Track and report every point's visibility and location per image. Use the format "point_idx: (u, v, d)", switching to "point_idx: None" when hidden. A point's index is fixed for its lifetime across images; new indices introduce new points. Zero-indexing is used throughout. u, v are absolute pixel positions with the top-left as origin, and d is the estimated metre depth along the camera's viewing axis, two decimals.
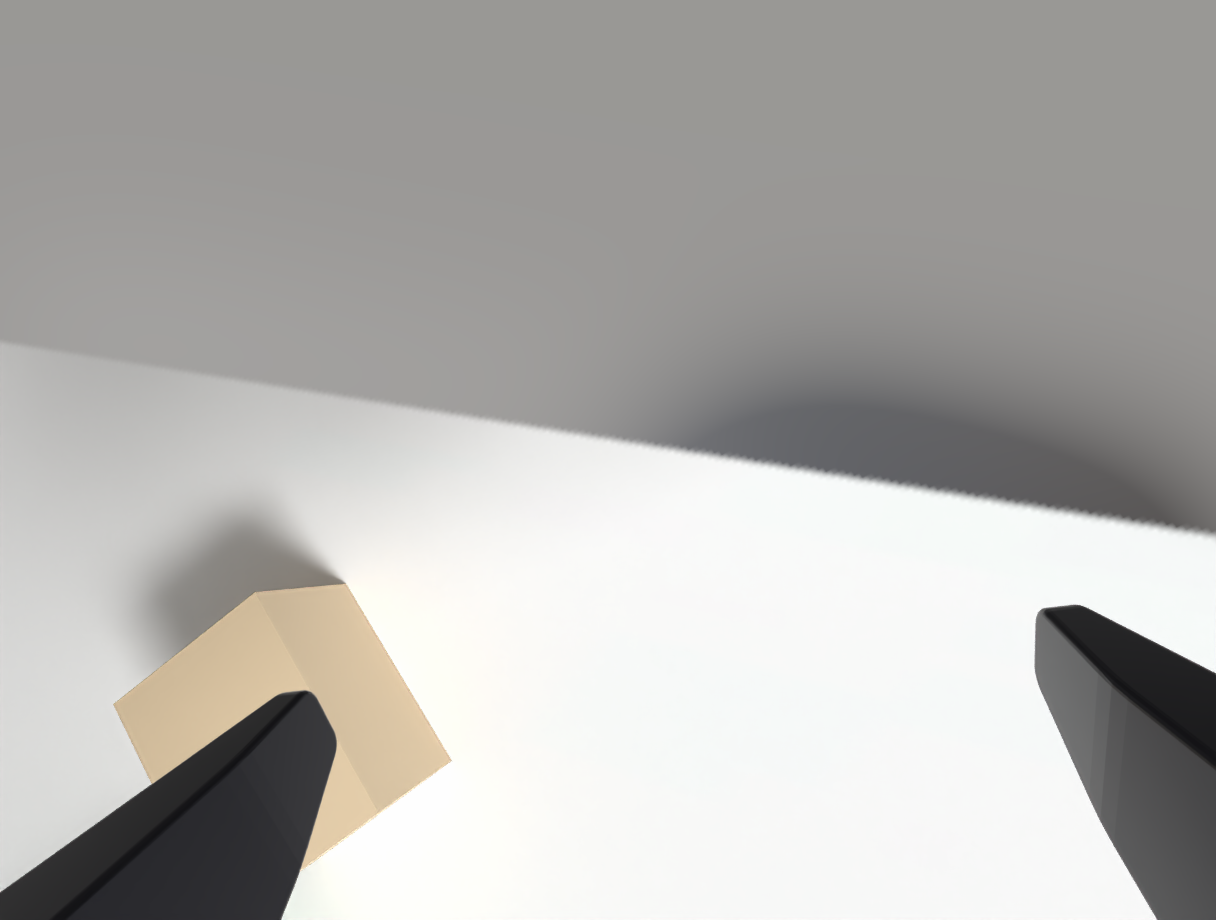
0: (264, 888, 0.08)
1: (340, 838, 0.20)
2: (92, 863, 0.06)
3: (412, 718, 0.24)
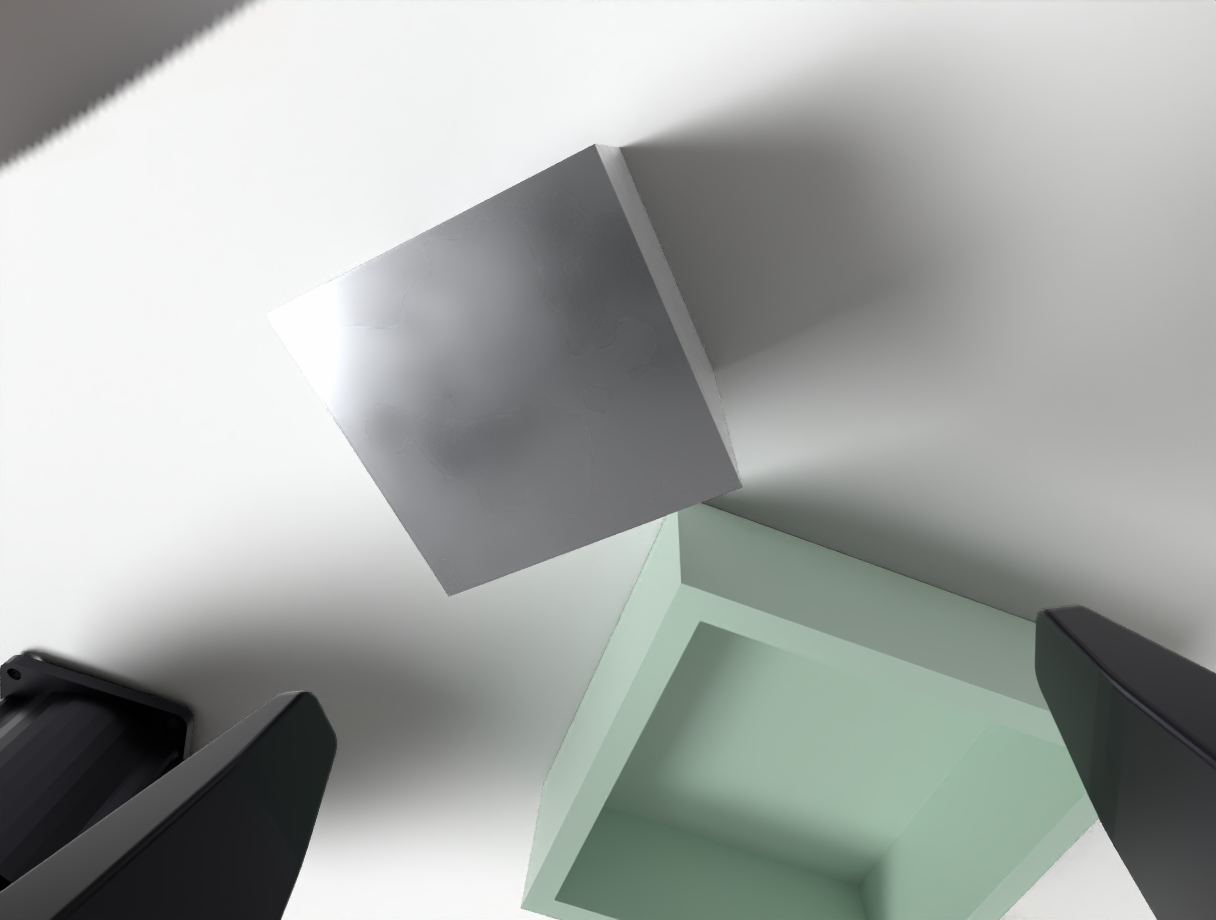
0: (264, 888, 0.08)
1: None
2: (92, 863, 0.06)
3: None
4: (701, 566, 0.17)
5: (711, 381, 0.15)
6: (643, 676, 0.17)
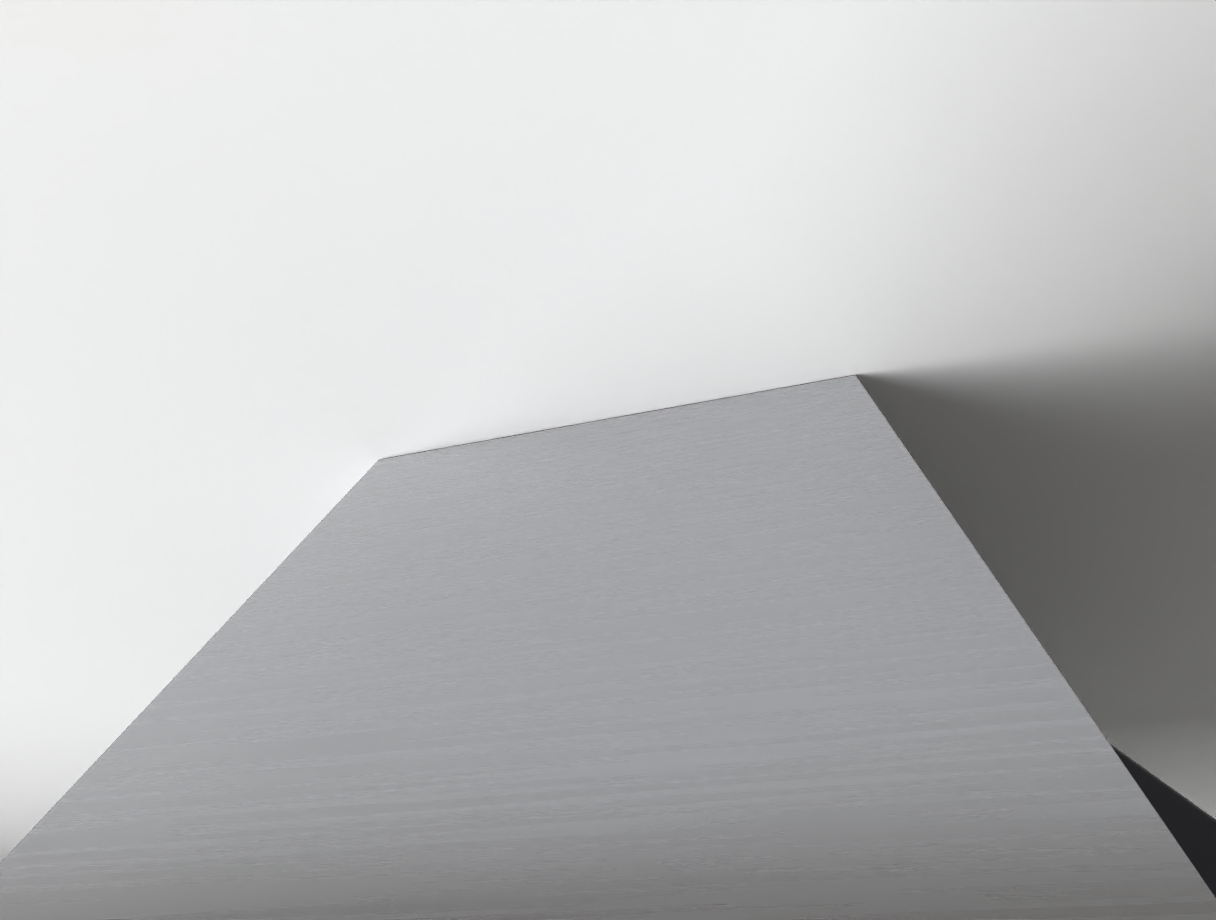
0: None
1: None
2: None
3: None
4: None
5: None
6: None
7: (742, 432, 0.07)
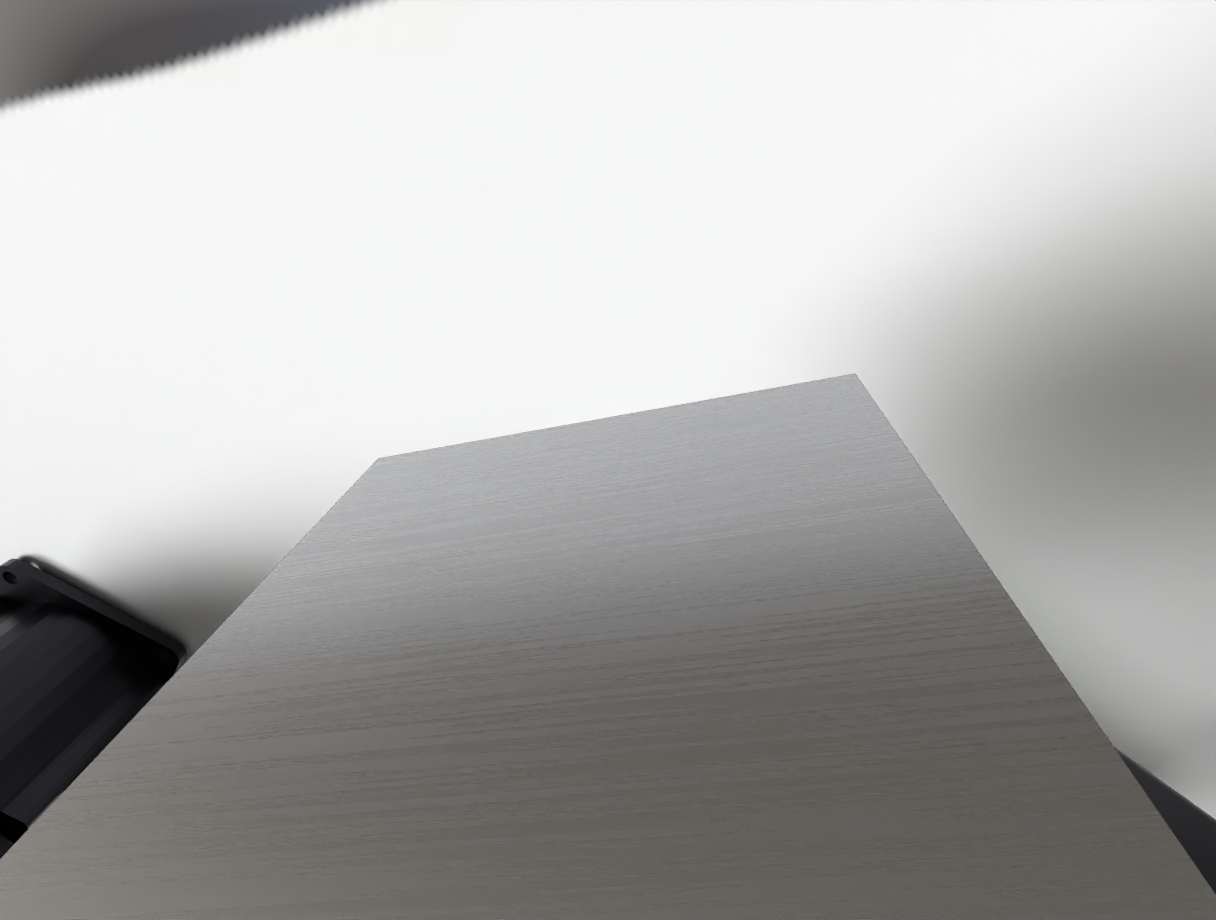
0: None
1: None
2: None
3: None
4: None
5: None
6: None
7: (742, 430, 0.07)
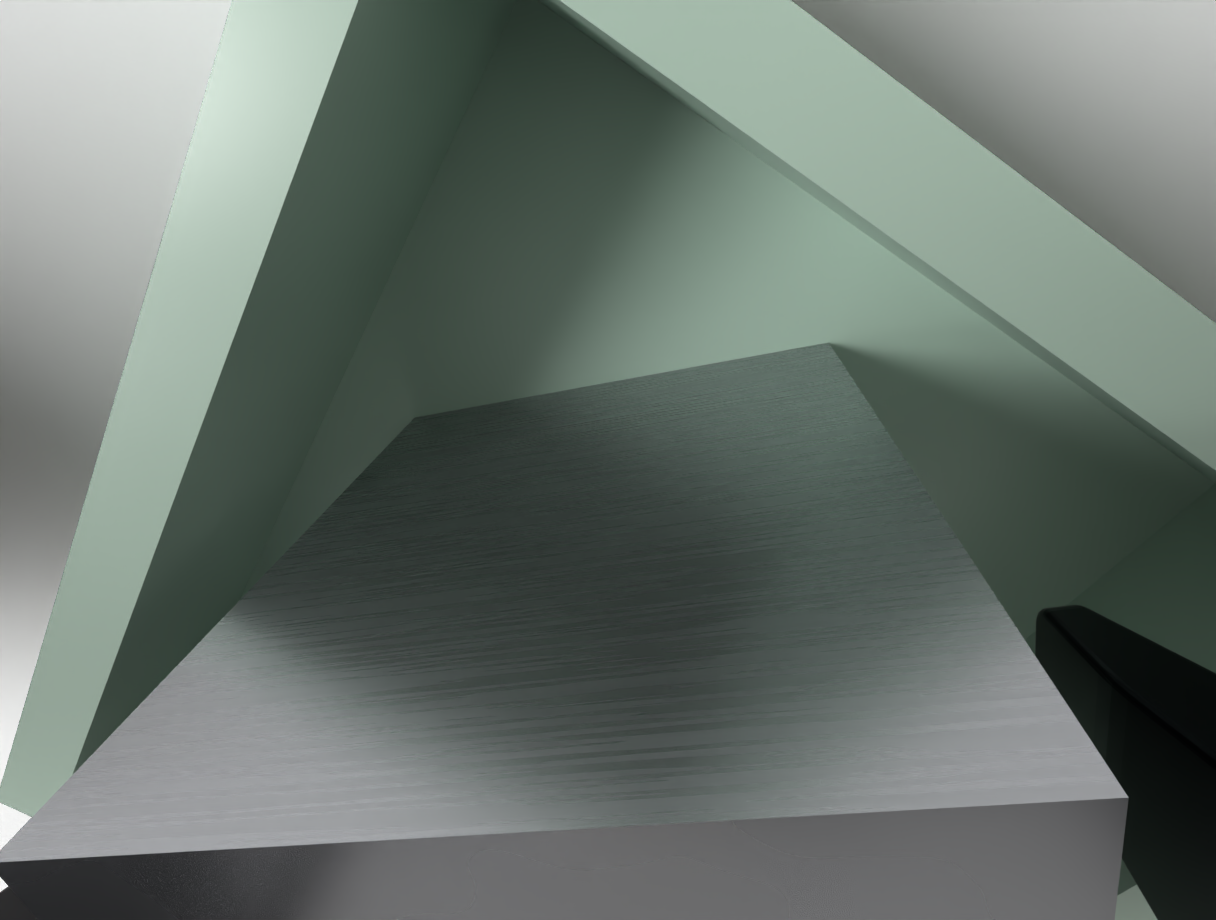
0: None
1: None
2: None
3: None
4: None
5: None
6: (224, 130, 0.05)
7: (730, 386, 0.09)
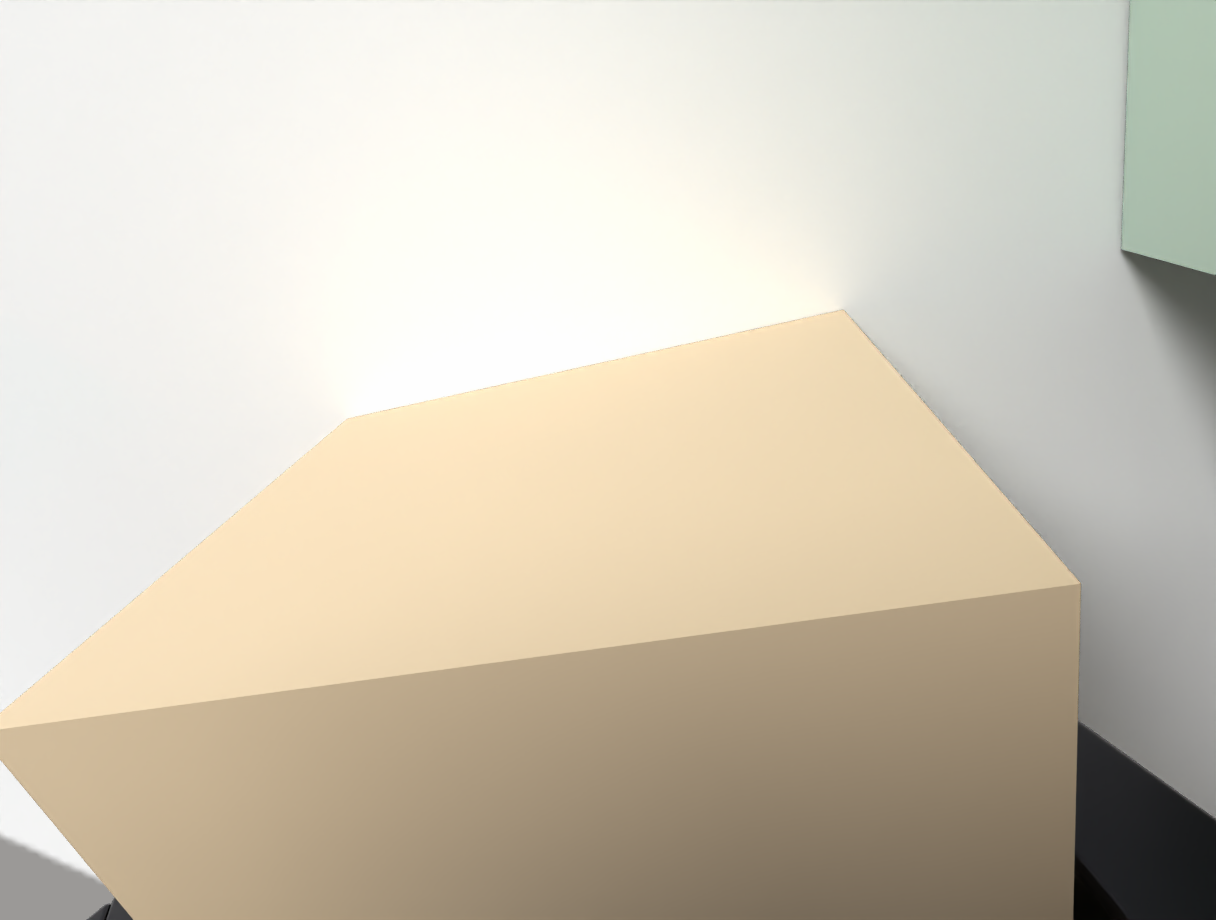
0: None
1: (184, 706, 0.04)
2: None
3: None
4: None
5: None
6: None
7: None
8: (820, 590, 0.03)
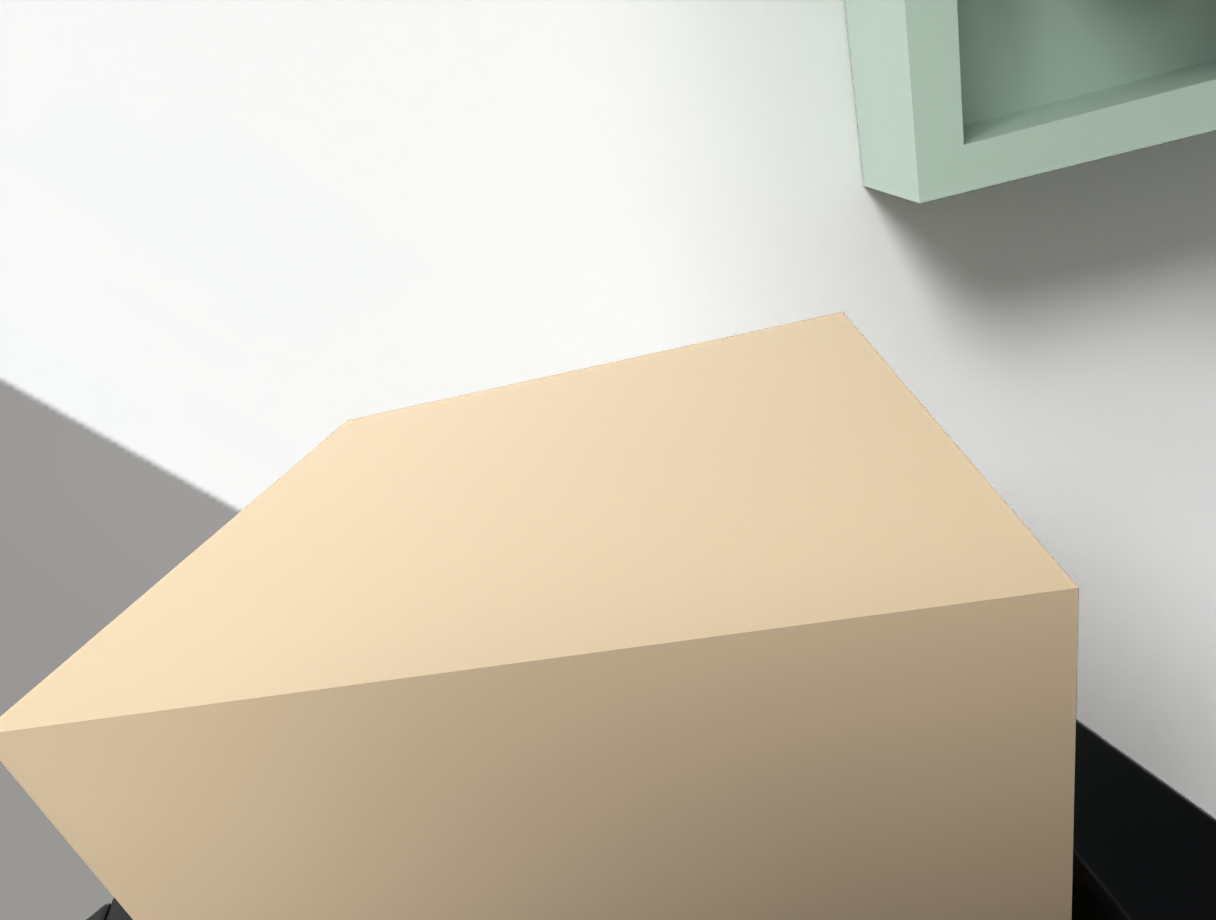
0: None
1: (184, 709, 0.04)
2: None
3: None
4: None
5: None
6: None
7: None
8: (819, 594, 0.03)
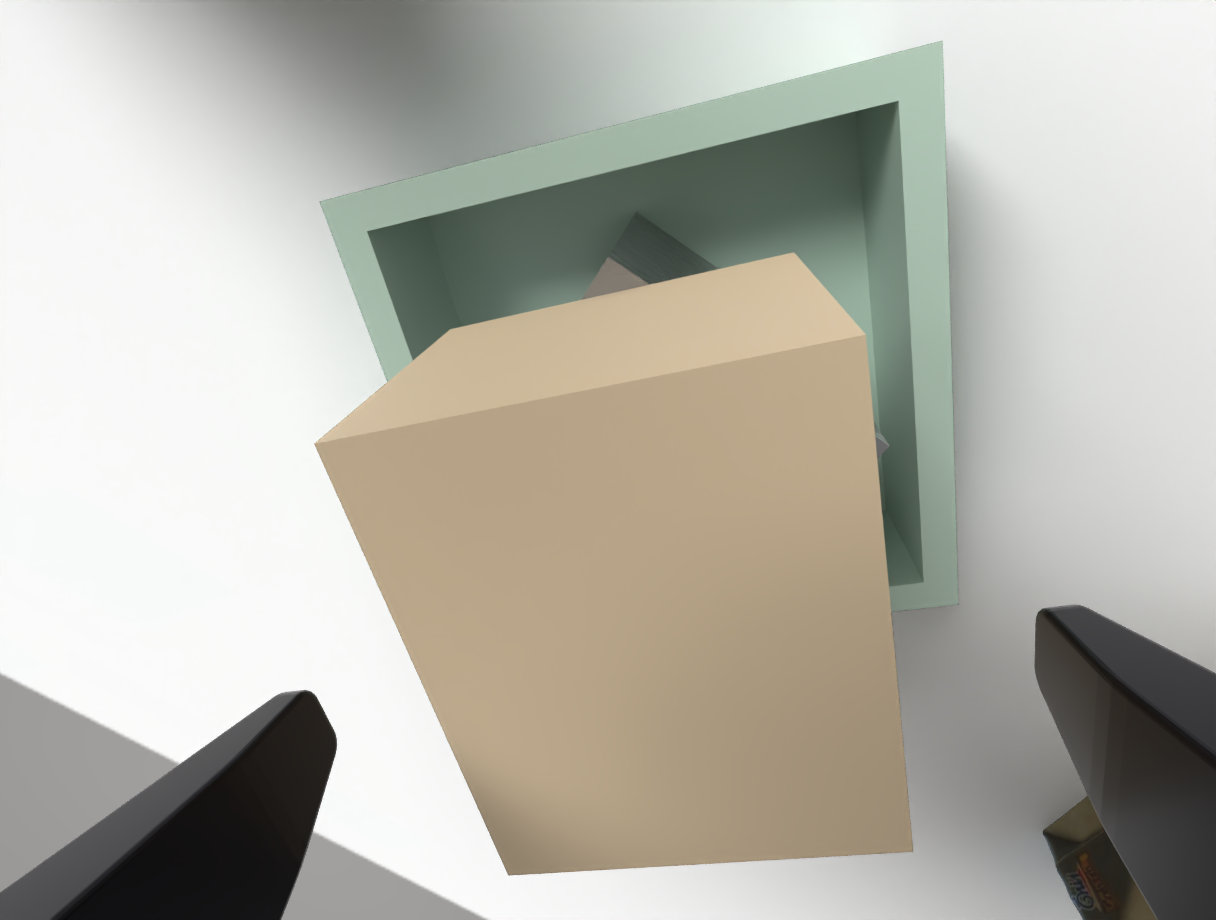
0: (264, 888, 0.08)
1: (431, 423, 0.08)
2: (92, 863, 0.06)
3: None
4: None
5: None
6: (782, 94, 0.13)
7: None
8: (754, 350, 0.07)
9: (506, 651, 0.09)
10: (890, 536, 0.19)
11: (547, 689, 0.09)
